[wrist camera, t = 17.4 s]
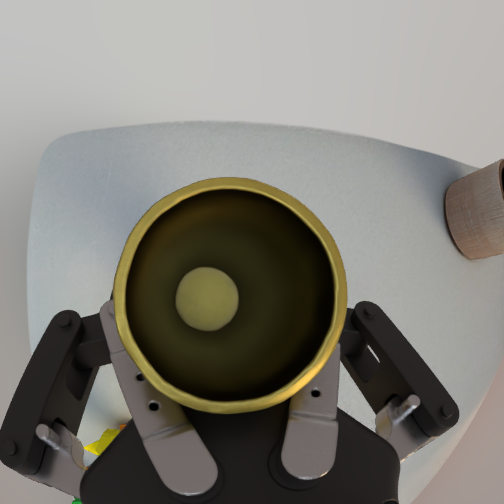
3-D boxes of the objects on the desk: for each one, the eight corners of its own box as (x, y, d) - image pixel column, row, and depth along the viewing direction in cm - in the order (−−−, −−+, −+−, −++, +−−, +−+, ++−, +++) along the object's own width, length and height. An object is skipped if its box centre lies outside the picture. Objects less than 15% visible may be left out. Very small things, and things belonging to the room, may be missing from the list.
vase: (164, 343, 19) (105, 432, 5) (162, 255, 20) (101, 158, 6) (252, 340, 20) (366, 409, 6) (248, 254, 21) (351, 166, 7)
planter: (450, 263, 29) (511, 249, 20) (434, 178, 31) (487, 148, 21) (489, 258, 31) (540, 247, 22) (476, 186, 33) (521, 165, 23)
